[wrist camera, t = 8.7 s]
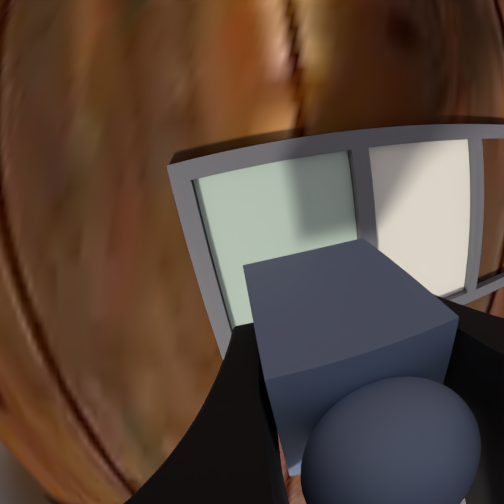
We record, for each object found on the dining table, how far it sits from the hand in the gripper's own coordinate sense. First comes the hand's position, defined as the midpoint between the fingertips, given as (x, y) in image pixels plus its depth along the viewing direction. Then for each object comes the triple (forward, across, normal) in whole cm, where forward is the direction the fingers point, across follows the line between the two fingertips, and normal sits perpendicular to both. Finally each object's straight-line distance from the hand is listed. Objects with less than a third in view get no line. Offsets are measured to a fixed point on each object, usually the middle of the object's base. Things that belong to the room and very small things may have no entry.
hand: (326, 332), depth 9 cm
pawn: (+2, 0, 0) cm, 2 cm away
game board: (+6, -8, 0) cm, 9 cm away
